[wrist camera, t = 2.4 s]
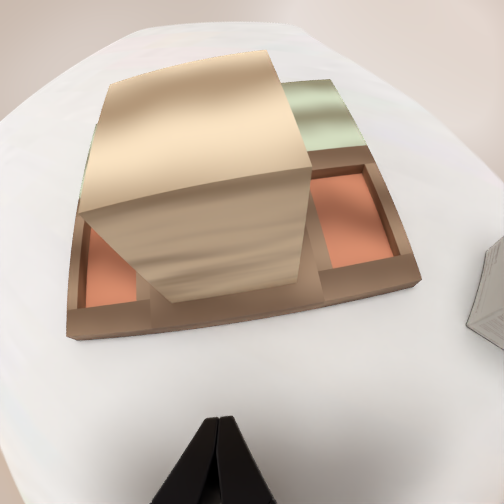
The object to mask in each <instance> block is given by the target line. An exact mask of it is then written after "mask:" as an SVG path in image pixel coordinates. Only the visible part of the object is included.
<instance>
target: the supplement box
mask: <svg viewBox="0 0 504 504" xmlns="http://www.w3.org/2000/svg"><path fill="white" fill-rule="evenodd" d="M467 326H468V327H469V328H471V329H472V330H474V331H475V332H477V333H478V334H480V335H482V336H483V337H484V338H486V339H488V340H489V341H491V342H492V343H494V344H495V345H497V346H498V347H500V348H502V349H503V350H504V236H503V237H502V238H501V239H500V240H499V241H497V242H496V243H495V244H494V245H493V246H492V247H491V248H489V249H488V250H487V252H486V258H485V264H484V269H483V273H482V278H481V282H480V285H479V289H478V292H477V296H476V299H475V302H474V305H473V308H472V311H471V314H470V317H469V319H468V322H467Z"/></svg>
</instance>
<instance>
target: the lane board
mask: <svg viewBox="0 0 504 504" xmlns="http://www.w3.org/2000/svg"><path fill="white" fill-rule="evenodd" d="M281 85H282V88H283V90H284V92H285V95H286V97H287V100H288V102H289V105H290V108H291V110H292V113H293V115H294V118H295V120H296V123H297V126H298V128H299V131H300V134H301V136H302V139H303V142H304V145H305V147H306V150H307V153H308V156H309V158H310V161H311V164H312V173H311V182H310V190H309V198H308V206H307V213H306V221H305V228H304V236H303V243H302V250H301V256H300V263H299V270H298V276H297V282H296V283H292V284H287V285H281V286H276V287H270V288H264V289H258V290H252V291H246V292H240V293H234V294H228V295H222V296H216V297H209V298H203V299H196V300H189V301H183V302H176V303H171V302H170V301H169V300H168V299H167V298H165V297H164V296H163V295H162V294H161V293H160V292H159V291H158V290H156V289H155V288H154V287H153V286H152V285H151V284H150V283H149V282H148V281H147V280H145V279H144V278H143V277H142V276H141V275H140V274H139V273H138V272H137V271H136V270H135V269H134V268H133V267H131V266H130V265H129V264H128V263H127V262H126V261H125V260H124V259H123V258H122V257H121V256H120V255H119V254H118V253H117V252H116V251H115V250H114V249H113V248H112V247H111V246H110V245H109V244H108V243H107V242H106V241H105V240H104V239H103V238H102V237H101V236H100V235H99V234H98V233H97V232H96V231H95V230H94V229H93V228H92V227H91V226H90V225H89V224H88V223H87V222H86V221H85V220H84V219H83V218H82V217H81V216H80V215H79V214H78V211H79V205H80V199H81V194H82V188H83V183H84V178H85V173H86V169H87V164H88V160H89V155H90V151H91V147H92V143H93V139H94V136H95V132H96V128H97V124H96V126H95V130H94V134H93V137H92V141H91V145H90V149H89V153H88V157H87V162H86V166H85V170H84V175H83V180H82V185H81V190H80V195H79V201H78V206H77V212H76V219H75V225H74V232H73V240H72V248H71V258H70V268H69V280H68V295H67V323H66V337H69V338H72V339H75V340H91V339H104V338H115V337H126V336H136V335H146V334H155V333H164V332H172V331H180V330H188V329H195V328H203V327H210V326H217V325H224V324H230V323H237V322H243V321H249V320H255V319H261V318H267V317H273V316H279V315H284V314H290V313H295V312H301V311H306V310H311V309H316V308H321V307H326V306H331V305H336V304H341V303H345V302H350V301H355V300H359V299H364V298H368V297H373V296H377V295H381V294H385V293H390V292H394V291H398V290H402V289H406V288H410V287H414V286H415V285H416V284H417V283H418V282H419V281H421V280H422V278H421V275H420V272H419V269H418V266H417V263H416V260H415V257H414V254H413V251H412V249H411V246H410V243H409V240H408V238H407V235H406V232H405V230H404V227H403V225H402V222H401V220H400V217H399V215H398V212H397V210H396V207H395V205H394V202H393V200H392V198H391V195H390V193H389V191H388V189H387V186H386V184H385V182H384V180H383V177H382V175H381V173H380V171H379V169H378V167H377V165H376V162H375V160H374V158H373V156H372V154H371V152H370V150H369V148H368V146H367V144H366V142H365V140H364V138H363V136H362V134H361V132H360V131H359V129H358V127H357V125H356V123H355V121H354V119H353V118H352V116H351V114H350V112H349V110H348V109H347V107H346V105H345V103H344V102H343V100H342V98H341V96H340V95H339V93H338V91H337V90H336V88H335V86H334V85H333V83H332V81H331V80H330V79H326V80H310V81H297V82H287V83H281Z"/></svg>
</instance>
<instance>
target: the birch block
mask: <svg viewBox="0 0 504 504" xmlns="http://www.w3.org/2000/svg"><path fill="white" fill-rule="evenodd" d="M311 173H312V164H311V161H310V158H309V156H308V153H307V150H306V147H305V145H304V142H303V139H302V136H301V134H300V131H299V128H298V126H297V123H296V120H295V118H294V115H293V113H292V110H291V108H290V105H289V102H288V100H287V97H286V95H285V92H284V90H283V88H282V85H281V83H280V80H279V78H278V76H277V73H276V71H275V69H274V66H273V64H272V62H271V59H270V57H269V55H268V52H267V50H260V51H252V52H244V53H237V54H231V55H225V56H219V57H213V58H208V59H203V60H198V61H193V62H188V63H184V64H180V65H175V66H171V67H167V68H163V69H160V70H156V71H152V72H149V73H145V74H142V75H138V76H135V77H132V78H128V79H125V80H122V81H119V82H116V83H113V84H110V86H109V89H108V92H107V95H106V98H105V101H104V104H103V107H102V111H101V114H100V117H99V121H98V124H97V128H96V132H95V136H94V139H93V143H92V147H91V151H90V155H89V160H88V164H87V169H86V173H85V178H84V183H83V188H82V194H81V199H80V205H79V211H78V214H79V215H80V216H81V217H82V218H83V219H84V220H85V221H86V222H87V223H88V224H89V225H90V226H91V227H92V228H93V229H94V230H95V231H96V232H97V233H98V234H99V235H100V236H101V237H102V238H103V239H104V240H105V241H106V242H107V243H108V244H109V245H110V246H111V247H112V248H113V249H114V250H115V251H116V252H117V253H118V254H119V255H120V256H121V257H122V258H123V259H124V260H125V261H126V262H127V263H128V264H129V265H130V266H131V267H133V268H134V269H135V270H136V271H137V272H138V273H139V274H140V275H141V276H142V277H143V278H144V279H145V280H147V281H148V282H149V283H150V284H151V285H152V286H153V287H154V288H155V289H156V290H158V291H159V292H160V293H161V294H162V295H163V296H164V297H165V298H167V299H168V300H169V301H170V302H171V303H176V302H183V301H189V300H196V299H203V298H209V297H216V296H222V295H228V294H234V293H240V292H246V291H252V290H258V289H264V288H270V287H276V286H281V285H287V284H292V283H296V282H297V276H298V270H299V263H300V256H301V250H302V243H303V236H304V228H305V221H306V213H307V206H308V198H309V190H310V182H311Z"/></svg>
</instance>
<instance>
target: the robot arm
mask: <svg viewBox="0 0 504 504" xmlns="http://www.w3.org/2000/svg"><path fill="white" fill-rule="evenodd" d="M150 504H277V502H276V500H275V499H274V497H273V495H272V493H271V491H270V489H269V488H268V486H267V484H266V482H265V480H264V478H263V476H262V474H261V472H260V470H259V468H258V466H257V464H256V462H255V460H254V458H253V456H252V454H251V452H250V450H249V448H248V446H247V444H246V442H245V440H244V438H243V436H242V434H241V432H240V429H239V427H238V425H237V423H236V421H235V419H234V417H233V416H223V417H220V419H219V418H218V417H213V418H206V419H205V420H204V421H203V423H202V424H201V426H200V428H199V429H198V431H197V432H196V434H195V436H194V437H193V439H192V440H191V442H190V443H189V445H188V447H187V448H186V450H185V451H184V453H183V454H182V456H181V458H180V459H179V461H178V462H177V464H176V465H175V467H174V468H173V470H172V471H171V473H170V474H169V476H168V477H167V479H166V480H165V482H164V483H163V485H162V486H161V488H160V489H159V491H158V492H157V494H156V495H155V497H154V498H153V500H152V503H150Z"/></svg>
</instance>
